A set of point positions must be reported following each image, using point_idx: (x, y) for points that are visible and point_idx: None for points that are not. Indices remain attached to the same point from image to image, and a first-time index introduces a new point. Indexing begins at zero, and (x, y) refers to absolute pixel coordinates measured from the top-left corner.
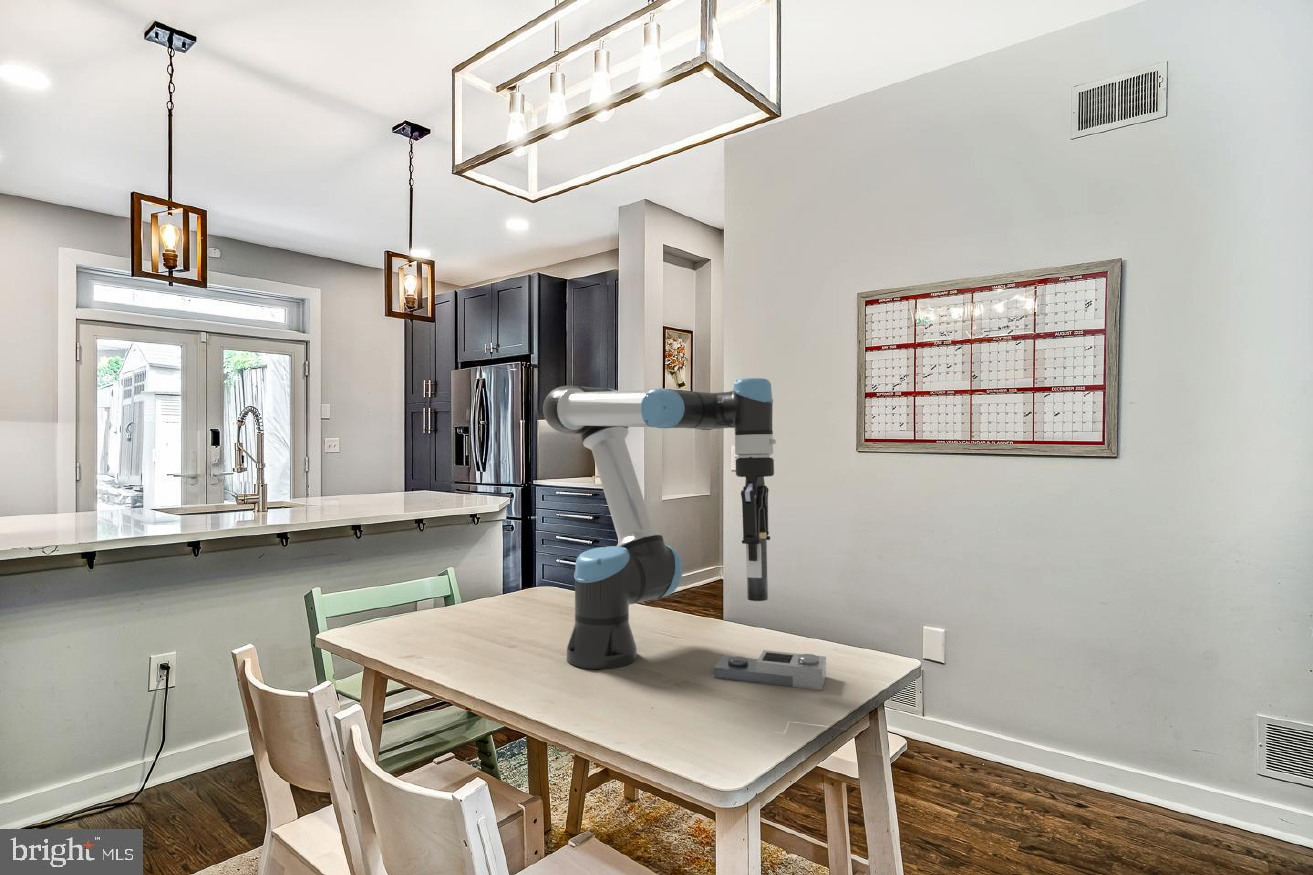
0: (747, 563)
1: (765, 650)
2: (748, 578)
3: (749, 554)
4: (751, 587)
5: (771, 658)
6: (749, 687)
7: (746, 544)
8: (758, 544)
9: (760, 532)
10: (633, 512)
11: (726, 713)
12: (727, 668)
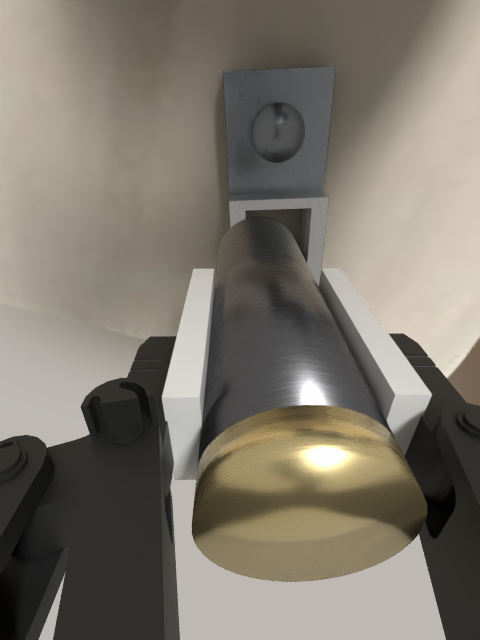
0: (184, 308)
1: (326, 202)
2: (228, 262)
3: (131, 369)
4: (218, 262)
5: (308, 216)
6: (202, 180)
7: (164, 392)
8: (173, 468)
9: (333, 550)
10: None
11: (45, 171)
12: (228, 115)
